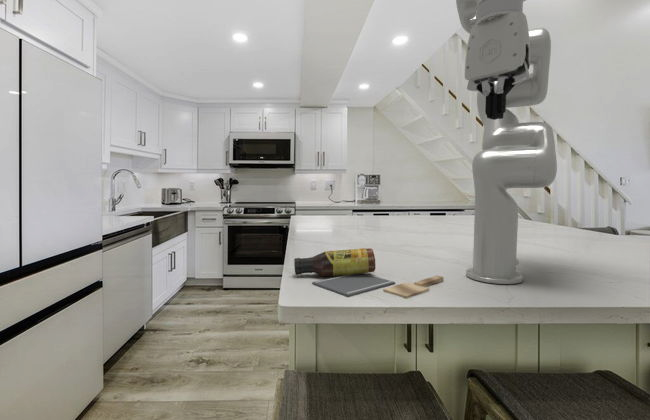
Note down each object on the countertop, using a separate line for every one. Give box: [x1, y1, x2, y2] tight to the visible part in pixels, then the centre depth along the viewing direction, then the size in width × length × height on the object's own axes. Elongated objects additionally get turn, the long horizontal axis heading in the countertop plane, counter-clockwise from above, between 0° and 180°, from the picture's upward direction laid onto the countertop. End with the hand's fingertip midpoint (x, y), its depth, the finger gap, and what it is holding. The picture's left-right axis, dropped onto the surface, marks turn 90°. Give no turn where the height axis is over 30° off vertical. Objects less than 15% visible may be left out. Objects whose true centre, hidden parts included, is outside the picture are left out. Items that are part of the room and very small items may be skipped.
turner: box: [383, 274, 444, 299], centre depth 77 cm, size 17×6×1 cm, turn 130°
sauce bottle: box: [293, 247, 376, 277], centre depth 86 cm, size 6×6×20 cm
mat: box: [311, 273, 396, 298], centre depth 80 cm, size 15×12×1 cm
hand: (495, 118), depth 64 cm, fingers closed
